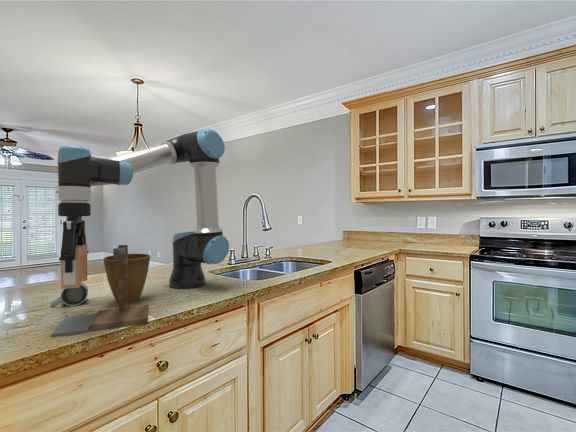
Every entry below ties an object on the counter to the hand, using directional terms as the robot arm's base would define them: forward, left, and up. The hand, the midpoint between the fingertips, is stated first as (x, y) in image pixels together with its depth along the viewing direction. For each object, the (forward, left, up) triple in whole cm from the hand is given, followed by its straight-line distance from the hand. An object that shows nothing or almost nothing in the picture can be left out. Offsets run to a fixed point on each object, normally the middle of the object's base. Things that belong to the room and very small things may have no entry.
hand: (75, 280), depth 87 cm
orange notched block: (0, 0, -1) cm, 1 cm away
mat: (0, 0, -13) cm, 13 cm away
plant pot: (-12, -21, -13) cm, 27 cm away
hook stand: (-12, 0, -13) cm, 17 cm away
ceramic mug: (+6, -25, -13) cm, 29 cm away
